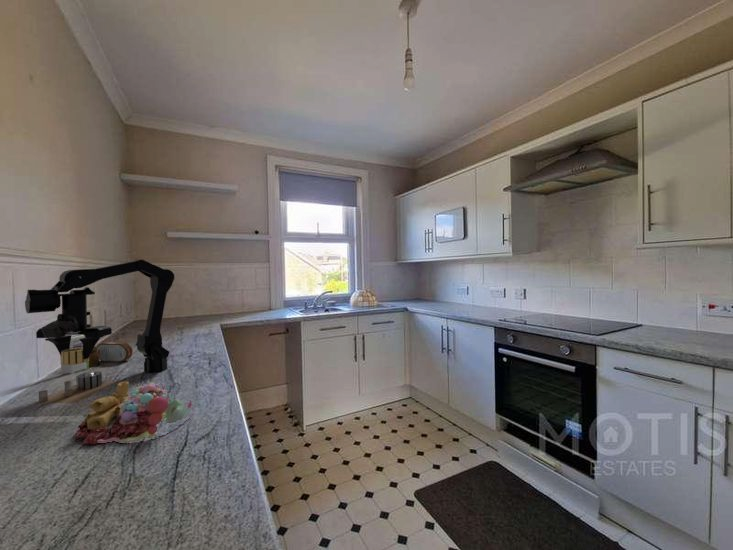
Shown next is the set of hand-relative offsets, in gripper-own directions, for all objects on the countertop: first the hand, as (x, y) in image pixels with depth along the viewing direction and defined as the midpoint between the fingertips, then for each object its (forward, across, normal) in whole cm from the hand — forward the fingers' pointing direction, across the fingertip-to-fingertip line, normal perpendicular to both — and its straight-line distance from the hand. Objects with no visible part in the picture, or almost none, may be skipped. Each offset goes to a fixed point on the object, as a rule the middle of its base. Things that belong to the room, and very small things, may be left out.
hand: (75, 359), depth 98 cm
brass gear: (+1, 0, 0) cm, 1 cm away
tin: (+11, -16, +35) cm, 40 cm away
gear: (+10, +1, +3) cm, 11 cm away
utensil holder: (+11, -21, +30) cm, 38 cm away
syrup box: (+12, -18, +20) cm, 29 cm away
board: (+11, +2, -1) cm, 11 cm away
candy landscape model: (+12, +32, -17) cm, 39 cm away
